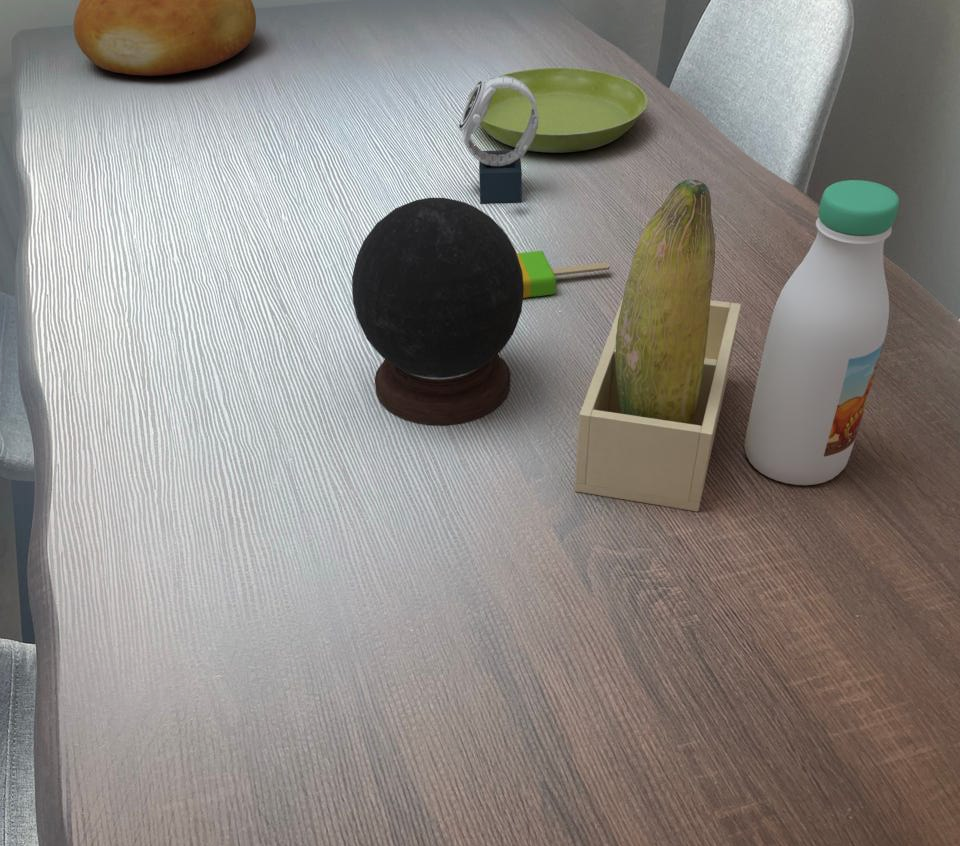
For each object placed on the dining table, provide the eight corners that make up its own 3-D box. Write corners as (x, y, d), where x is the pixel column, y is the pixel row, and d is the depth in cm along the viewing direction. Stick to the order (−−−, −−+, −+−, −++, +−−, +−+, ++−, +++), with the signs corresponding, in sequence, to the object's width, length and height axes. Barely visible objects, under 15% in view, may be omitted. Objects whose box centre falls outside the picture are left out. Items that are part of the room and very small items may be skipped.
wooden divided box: (727, 378, 85) (741, 303, 80) (698, 512, 73) (712, 434, 68) (618, 363, 86) (625, 289, 81) (574, 491, 75) (579, 414, 70)
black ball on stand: (490, 446, 79) (488, 262, 68) (336, 414, 82) (310, 233, 71) (543, 357, 87) (548, 180, 76) (401, 331, 91) (386, 157, 79)
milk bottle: (781, 500, 74) (849, 233, 59) (723, 441, 79) (772, 180, 64) (868, 471, 76) (955, 206, 61) (806, 416, 81) (873, 157, 66)
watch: (461, 181, 111) (457, 70, 103) (535, 179, 111) (537, 68, 103) (461, 204, 107) (457, 91, 99) (538, 202, 107) (540, 89, 99)
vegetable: (681, 483, 74) (724, 211, 59) (596, 467, 75) (618, 198, 61) (696, 435, 78) (741, 168, 63) (616, 420, 79) (641, 157, 65)
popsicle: (447, 277, 97) (446, 258, 95) (600, 261, 98) (602, 242, 97) (457, 307, 93) (456, 288, 92) (616, 289, 95) (618, 270, 93)
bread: (98, 31, 146) (76, -51, 139) (263, 22, 147) (250, -60, 140) (73, 91, 131) (47, 2, 123) (257, 80, 132) (242, -9, 125)
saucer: (681, 134, 118) (685, 104, 116) (537, 180, 111) (538, 150, 108) (571, 81, 130) (572, 53, 127) (434, 120, 122) (433, 91, 120)
